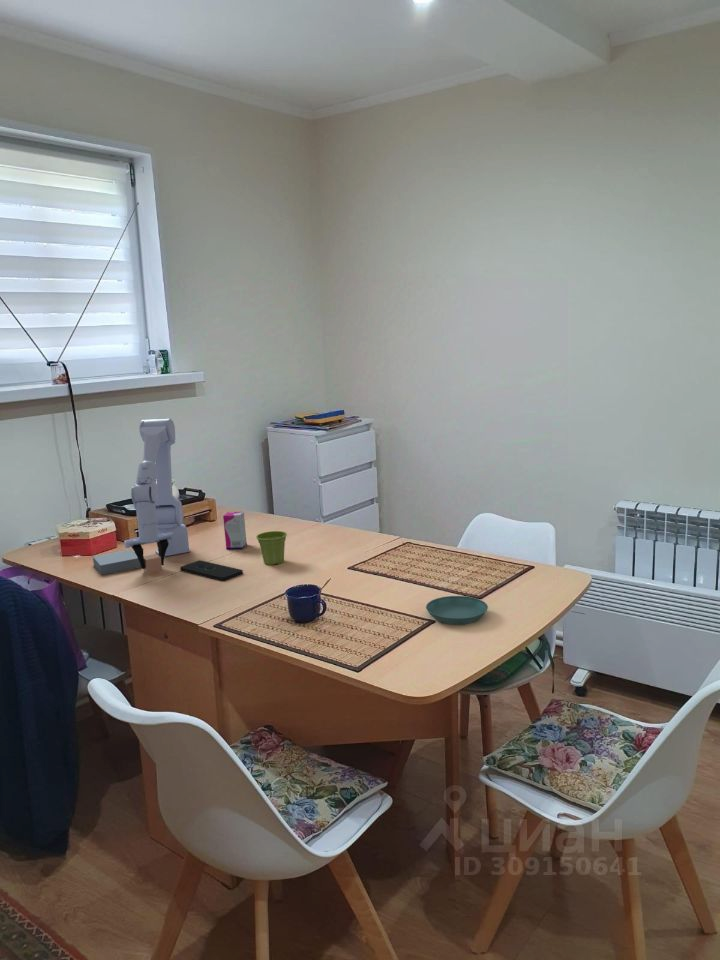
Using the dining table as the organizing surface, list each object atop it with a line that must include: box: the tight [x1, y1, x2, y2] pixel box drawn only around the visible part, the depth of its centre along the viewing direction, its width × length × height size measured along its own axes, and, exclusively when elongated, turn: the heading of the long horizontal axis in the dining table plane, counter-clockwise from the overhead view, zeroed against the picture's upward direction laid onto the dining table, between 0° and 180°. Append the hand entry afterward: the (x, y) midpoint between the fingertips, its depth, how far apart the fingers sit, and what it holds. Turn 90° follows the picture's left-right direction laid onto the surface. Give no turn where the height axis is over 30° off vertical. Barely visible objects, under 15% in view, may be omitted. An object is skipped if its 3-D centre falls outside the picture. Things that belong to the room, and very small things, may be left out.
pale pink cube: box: [143, 553, 163, 575], centre depth 230 cm, size 4×4×4 cm
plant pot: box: [255, 530, 288, 566], centre depth 231 cm, size 9×9×9 cm
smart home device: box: [179, 560, 244, 582], centre depth 226 cm, size 8×2×20 cm
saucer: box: [425, 595, 489, 626], centre depth 182 cm, size 15×15×3 cm
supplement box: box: [222, 511, 248, 550], centre depth 250 cm, size 6×6×12 cm
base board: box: [92, 548, 141, 576], centre depth 236 cm, size 12×12×3 cm
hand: (152, 566), depth 230 cm, fingers open, 5 cm apart
